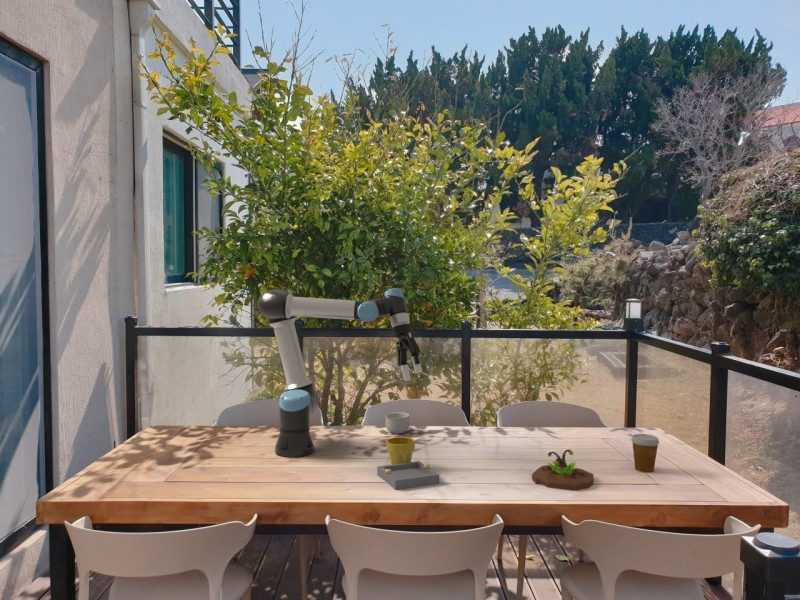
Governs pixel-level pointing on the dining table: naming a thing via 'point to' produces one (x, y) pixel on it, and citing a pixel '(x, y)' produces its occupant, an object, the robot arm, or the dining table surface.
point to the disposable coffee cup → (644, 451)
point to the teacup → (397, 422)
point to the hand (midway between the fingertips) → (413, 377)
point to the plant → (563, 475)
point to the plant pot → (400, 449)
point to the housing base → (408, 475)
